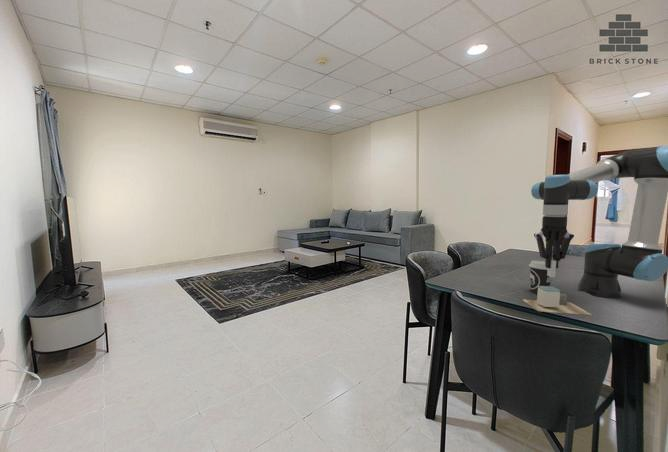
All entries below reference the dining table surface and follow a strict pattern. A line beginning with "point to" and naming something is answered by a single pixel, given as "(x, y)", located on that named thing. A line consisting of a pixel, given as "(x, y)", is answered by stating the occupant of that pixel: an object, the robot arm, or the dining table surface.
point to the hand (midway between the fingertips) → (551, 276)
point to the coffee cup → (538, 275)
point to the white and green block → (548, 296)
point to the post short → (563, 299)
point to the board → (557, 308)
